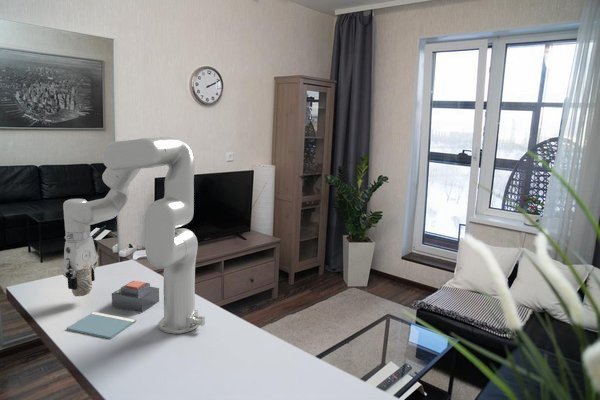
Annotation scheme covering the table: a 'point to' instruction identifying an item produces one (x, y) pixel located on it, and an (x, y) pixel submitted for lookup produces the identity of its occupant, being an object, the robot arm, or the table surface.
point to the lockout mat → (101, 325)
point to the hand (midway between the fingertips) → (81, 284)
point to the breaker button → (135, 285)
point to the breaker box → (135, 298)
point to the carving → (83, 281)
